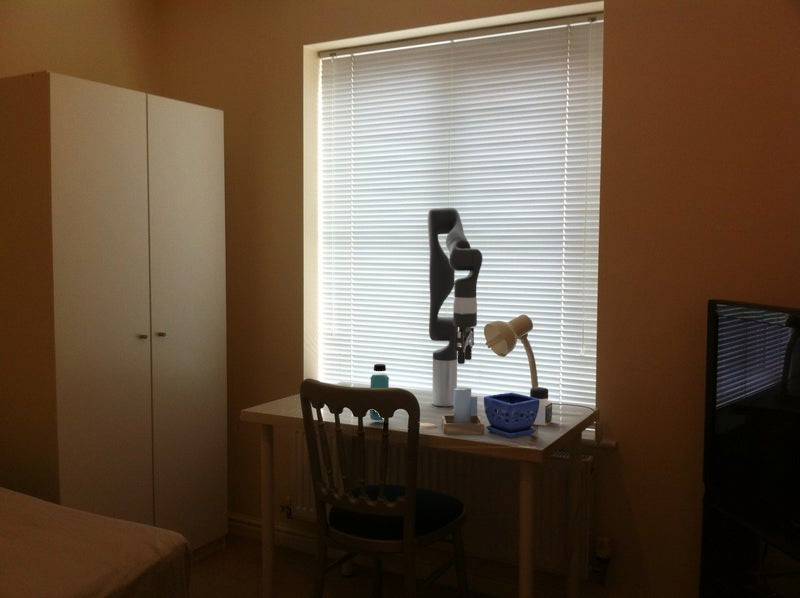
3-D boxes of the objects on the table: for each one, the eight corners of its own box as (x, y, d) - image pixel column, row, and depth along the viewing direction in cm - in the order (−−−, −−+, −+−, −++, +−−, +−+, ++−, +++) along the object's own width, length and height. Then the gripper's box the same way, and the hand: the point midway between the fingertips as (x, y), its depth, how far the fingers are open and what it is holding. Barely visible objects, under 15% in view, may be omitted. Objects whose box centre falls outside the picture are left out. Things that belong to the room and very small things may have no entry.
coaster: (406, 424, 243) (406, 422, 243) (436, 424, 243) (436, 422, 243) (406, 431, 233) (406, 430, 233) (437, 431, 233) (437, 430, 233)
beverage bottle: (378, 419, 250) (378, 361, 248) (393, 422, 245) (393, 364, 244) (365, 423, 245) (365, 364, 243) (380, 426, 240) (380, 366, 239)
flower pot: (541, 435, 229) (541, 398, 228) (510, 442, 221) (511, 403, 221) (511, 427, 240) (512, 391, 239) (481, 433, 232) (481, 396, 231)
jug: (452, 426, 238) (453, 387, 237) (475, 426, 238) (476, 387, 237) (454, 430, 232) (454, 390, 232) (477, 430, 232) (478, 390, 232)
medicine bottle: (545, 426, 242) (546, 390, 241) (525, 423, 245) (525, 388, 244) (552, 421, 248) (552, 387, 247) (532, 419, 251) (532, 385, 250)
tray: (441, 425, 241) (441, 415, 241) (479, 425, 242) (479, 415, 241) (444, 435, 229) (444, 424, 229) (483, 435, 229) (484, 424, 229)
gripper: (459, 309, 239) (459, 357, 241) (447, 312, 226) (447, 364, 227) (481, 309, 237) (481, 359, 238) (471, 313, 223) (470, 365, 225)
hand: (464, 361), depth 233 cm, fingers open, 8 cm apart
